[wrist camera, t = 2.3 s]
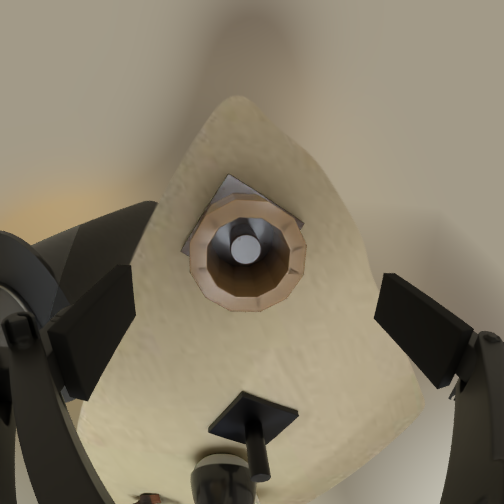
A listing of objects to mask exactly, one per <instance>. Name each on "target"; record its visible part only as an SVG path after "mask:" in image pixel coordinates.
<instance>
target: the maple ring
mask: <svg viewBox="0 0 504 504" xmlns="http://www.w3.org/2000/svg"><path fill="white" fill-rule="evenodd" d="M239 217H241V218H262V219H264V220H265V221H267V222H268V223H270V224H271V227H272V229H273V244H272V247H271V249H270V250H269V252H268V253H267V255H266V256H265V258H264V259H263V260H261V261H259V262H257V263H256V264H254V265H252V266H250V267H239V266H232V265H230V264H228V263H227V262H225V261H223V260H222V259H220V258H219V257H218V255H217V253H216V251H215V249H214V248H213V246H212V239H213V237H214V235H215V234H216V232H217V231H218V229H219V228H220V227H222V226H224V225H226V224H228V223H230V222H232V221H234V220H235V219H237V218H239ZM306 248H307V245H306V243H305V240H304V238H303V236H302V234H301V232H300V229H299V227H298V225H297V223H296V221H295V219H294V218H293V217H292V216H290V215H289V214H287V213H286V212H284V211H283V210H281V209H280V208H278V207H277V206H275V205H274V204H272V203H271V202H269V201H268V200H266V199H264V198H263V197H261V196H259V195H257V194H244V193H232V194H230V195H228V196H226V197H224V198H222V199H220V200H218V201H217V202H215V203H213V204H211V206H210V207H209V209H208V211H207V212H206V214H205V215H204V217H203V219H202V220H201V222H200V224H199V225H198V227H197V229H196V231H195V233H194V235H193V236H192V238H191V240H190V273H191V275H192V276H193V278H194V280H195V281H196V283H197V285H198V286H199V288H200V289H201V291H202V293H203V294H204V296H205V297H206V298H208V299H209V300H211V301H213V302H215V303H217V304H218V305H220V306H222V307H224V308H226V309H228V310H229V311H240V312H261V311H263V310H265V309H267V308H269V307H271V306H273V305H275V304H277V303H279V302H281V301H283V300H285V299H287V297H288V296H289V295H290V293H291V292H292V290H293V289H294V288H295V286H296V285H297V283H298V282H299V281H300V279H301V278H302V276H303V274H304V266H305V257H306Z"/></svg>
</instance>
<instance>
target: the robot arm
mask: <svg viewBox="0 0 504 504" xmlns="http://www.w3.org/2000/svg"><path fill="white" fill-rule="evenodd" d="M135 316H136V312H135V303H134V293H133V283H132V270H131V265H116V266H115V267H114V268H113V269H112V270H111V271H110V272H108V273H107V274H106V275H105V276H104V277H103V278H102V279H101V280H99V281H98V282H97V283H96V284H95V285H94V286H93V287H92V288H91V289H90V290H89V291H87V292H86V293H85V294H84V295H83V296H82V297H81V298H80V299H79V300H78V301H77V302H76V303H75V304H74V305H69V306H67V307H65V308H63V309H61V310H60V311H59V312H58V313H57V314H56V315H55V316H54V317H53V318H52V319H51V320H50V321H49V322H48V323H47V324H46V325H45V326H44V327H43V328H42V327H41V324H40V323H39V320H38V319H37V317H36V315H35V314H34V312H33V310H32V309H31V307H30V306H29V305H28V303H27V302H26V301H25V300H24V299H23V297H22V296H21V295H20V294H19V293H18V292H16V291H15V290H14V289H13V288H11V287H10V286H8V285H7V284H5V283H2V282H0V504H17V501H16V490H15V489H16V488H15V433H16V428H17V433H18V438H19V442H20V446H21V450H22V454H23V458H24V462H25V465H26V469H27V472H28V475H29V478H30V482H31V484H32V487H33V490H34V493H35V496H36V498H37V501H38V503H39V504H115V502H114V501H113V499H112V498H111V496H110V495H109V493H108V491H107V490H106V488H105V486H104V485H103V483H102V481H101V480H100V478H99V476H98V474H97V472H96V471H95V469H94V467H93V465H92V463H91V461H90V459H89V457H88V455H87V453H86V451H85V449H84V447H83V445H82V443H81V441H80V438H79V436H78V434H77V432H76V430H75V427H74V425H73V422H72V420H71V418H70V415H69V412H68V410H67V407H66V404H65V402H64V399H63V396H62V394H61V390H62V388H63V387H64V385H65V386H66V389H67V391H68V393H69V396H70V397H73V398H76V399H80V400H84V401H88V400H89V398H90V396H91V394H92V392H93V390H94V388H95V386H96V385H97V383H98V381H99V379H100V377H101V375H102V373H103V372H104V370H105V368H106V366H107V364H108V363H109V361H110V359H111V357H112V355H113V354H114V352H115V350H116V348H117V347H118V345H119V343H120V341H121V340H122V338H123V336H124V334H125V333H126V331H127V329H128V328H129V326H130V324H131V323H132V321H133V319H134V318H135ZM374 319H375V320H376V321H377V322H378V324H379V325H380V326H381V327H382V328H383V329H384V330H385V331H386V332H387V333H388V334H389V335H390V336H391V338H392V339H393V340H394V341H395V342H396V343H397V344H398V345H399V346H400V347H401V349H402V350H403V351H404V352H405V353H406V354H407V355H408V356H409V357H410V359H411V360H412V361H413V362H414V363H415V364H416V365H417V366H418V368H419V369H420V370H421V371H422V372H423V373H424V374H425V376H426V377H427V378H428V379H429V380H430V381H431V382H432V384H433V385H434V386H435V387H436V388H437V389H439V388H443V387H446V386H449V385H450V383H451V381H452V379H453V377H454V374H457V376H458V377H459V379H458V381H457V383H456V385H455V387H454V389H453V391H452V393H451V394H450V396H449V399H451V398H452V396H454V395H455V398H454V400H455V414H454V427H453V437H452V445H451V452H450V458H449V464H448V470H447V475H446V480H445V484H444V489H443V493H442V497H441V501H440V504H504V342H503V341H502V340H501V338H500V337H499V336H497V335H496V334H495V333H492V332H488V331H481V332H480V333H479V334H477V333H475V332H474V331H473V330H474V329H473V328H472V327H471V326H469V325H468V324H467V323H465V322H464V321H463V320H461V319H460V318H458V317H457V316H456V315H454V314H453V313H451V312H450V311H449V310H447V309H446V308H445V307H443V306H442V305H440V304H439V303H438V302H436V301H435V300H433V299H432V298H431V297H429V296H428V295H426V294H425V293H423V292H421V291H420V290H419V289H417V288H416V287H414V286H413V285H412V284H410V283H409V282H407V281H405V280H404V279H403V278H401V277H399V276H398V275H397V274H395V273H384V275H383V280H382V285H381V289H380V294H379V298H378V303H377V307H376V311H375V315H374Z"/></svg>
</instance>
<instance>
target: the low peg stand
mask: <svg viewBox="0 0 504 504" xmlns="http://www.w3.org/2000/svg"><path fill="white" fill-rule="evenodd" d="M232 193H244V194H257V195H259V196H261V197H263V198H264V199H266V200H268V201H269V202H271V203H272V204H274V205H275V206H277V207H278V208H280V209H281V210H283V211H284V212H286V213H287V214H289V215H290V216H292V217H293V218H294V219H295V221H296V223H297V225H298V227H299V229H300V230H301V228H302V227H303V225H304V223H303V222H302V221H300V220H299V219H297V218H296V217H294V216H293V215H292V214H290V213H289V212H287V211H286V210H284V209H283V208H281V207H280V206H278V205H277V204H275V203H274V202H272V201H271V200H269V199H268V198H266V197H265V196H263V195H262V194H260V193H258V192H257V191H255V190H254V189H252V188H251V187H249V186H248V185H246V184H244V183H243V182H241V181H240V180H238V179H237V178H235V177H233V176H232V175H230V174H228V175H227V177H226V178H225V180H224V181H223V183H222V184H221V186H220V187H219V189H218V190H217V192H216V194H215V195H214V197H213V198H212V200H211V202H210V203H209V205H208V206H207V208H206V210H205V211H204V213H203V214H202V216H201V218H200V219H199V221H198V223H197V224H196V226H195V227H194V229H193V231H192V232H191V234H190V236H189V238H188V239H187V241H186V243H185V244H184V246H183V248H182V249H181V252H182V253H184V254H186V255H187V256H189V257H190V240H191V238H192V236H193V235H194V233H195V231H196V229H197V227H198V225H199V224H200V222H201V220H202V219H203V217H204V215H205V214H206V212H207V211H208V209H209V207H210V206H211V204H213V203H215V202H217V201H218V200H220V199H222V198H224V197H226V196H228V195H230V194H232ZM272 244H273V229H272V227H271V224H270V223H268V222H267V221H265V220H264V219H262V218H241V217H239V218H237V219H235V220H234V221H232V222H230V223H228V224H226V225H224V226H222V227H220V228H219V229H218V231H217V232H216V234H215V235H214V237H213V239H212V246H213V248H214V249H215V251H216V253H217V255H218V257H219V258H220V259H222V260H223V261H225V262H227V263H228V264H230V265H232V266H239V267H250V266H252V265H254V264H256V263H257V262H259V261H261V260H263V259H264V258H265V256H266V255H267V253H268V252H269V250H270V249H271V247H272Z"/></svg>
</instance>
